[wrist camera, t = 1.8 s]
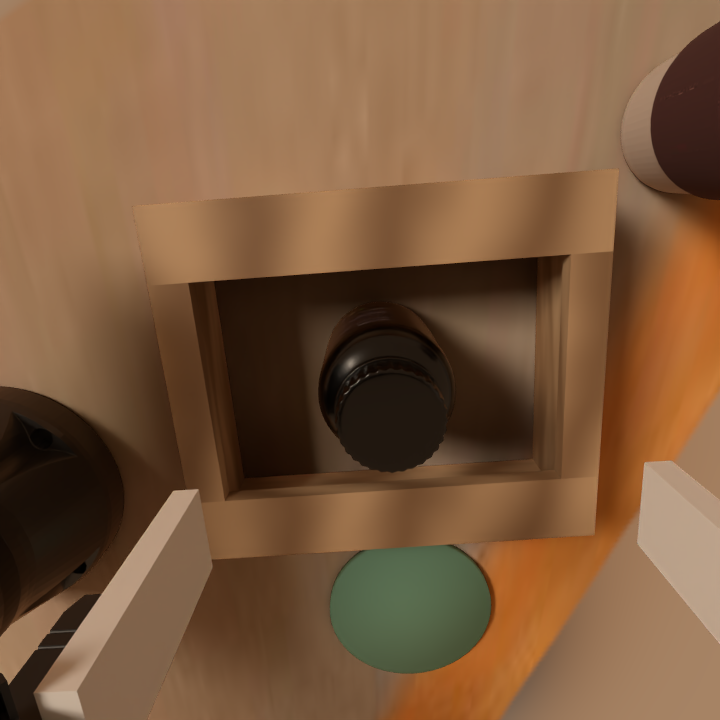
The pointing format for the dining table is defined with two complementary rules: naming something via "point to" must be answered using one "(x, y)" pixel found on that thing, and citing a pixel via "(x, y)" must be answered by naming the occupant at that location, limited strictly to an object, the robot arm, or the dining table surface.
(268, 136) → the dining table surface
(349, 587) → the mat
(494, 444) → the dining table surface
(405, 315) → the supplement bottle
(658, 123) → the coffee cup
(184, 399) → the cover box
